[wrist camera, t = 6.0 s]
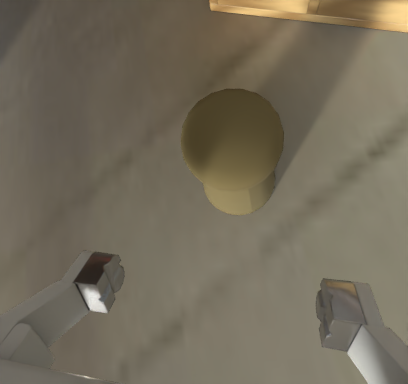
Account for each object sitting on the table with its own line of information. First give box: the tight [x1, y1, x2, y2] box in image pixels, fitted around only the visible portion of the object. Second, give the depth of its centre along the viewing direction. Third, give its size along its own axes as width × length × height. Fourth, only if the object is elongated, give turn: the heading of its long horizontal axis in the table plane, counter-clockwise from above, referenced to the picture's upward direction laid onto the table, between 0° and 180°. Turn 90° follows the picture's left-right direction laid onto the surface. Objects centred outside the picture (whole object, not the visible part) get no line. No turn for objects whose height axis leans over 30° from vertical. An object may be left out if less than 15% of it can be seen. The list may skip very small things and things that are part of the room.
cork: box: [181, 89, 284, 215], centre depth 18 cm, size 6×6×11 cm
